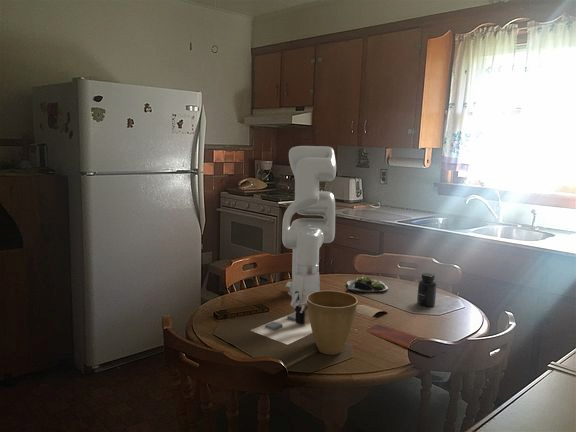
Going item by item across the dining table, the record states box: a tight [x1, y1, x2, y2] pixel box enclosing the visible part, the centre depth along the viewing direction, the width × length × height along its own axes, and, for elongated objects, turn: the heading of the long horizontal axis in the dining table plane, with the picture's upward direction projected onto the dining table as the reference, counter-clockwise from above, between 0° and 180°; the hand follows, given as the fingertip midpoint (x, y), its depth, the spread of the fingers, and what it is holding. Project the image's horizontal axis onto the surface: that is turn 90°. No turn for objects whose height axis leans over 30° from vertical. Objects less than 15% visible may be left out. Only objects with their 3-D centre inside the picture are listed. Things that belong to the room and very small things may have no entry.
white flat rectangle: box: [249, 311, 313, 345], centre depth 154 cm, size 16×24×1 cm, turn 139°
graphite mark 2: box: [286, 312, 296, 321], centre depth 161 cm, size 4×4×1 cm
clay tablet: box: [355, 304, 388, 319], centre depth 170 cm, size 14×10×3 cm
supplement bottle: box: [416, 272, 437, 308], centre depth 181 cm, size 7×7×12 cm
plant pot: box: [306, 290, 359, 356], centre depth 139 cm, size 15×15×16 cm
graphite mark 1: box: [264, 320, 282, 331], centre depth 153 cm, size 4×4×1 cm
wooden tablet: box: [365, 323, 420, 349], centre depth 148 cm, size 27×10×2 cm, turn 39°
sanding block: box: [298, 304, 310, 326], centre depth 158 cm, size 4×6×5 cm, turn 139°
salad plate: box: [346, 276, 389, 294], centre depth 203 cm, size 19×18×5 cm
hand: (306, 320), depth 158 cm, fingers closed on sanding block, 6 cm apart
